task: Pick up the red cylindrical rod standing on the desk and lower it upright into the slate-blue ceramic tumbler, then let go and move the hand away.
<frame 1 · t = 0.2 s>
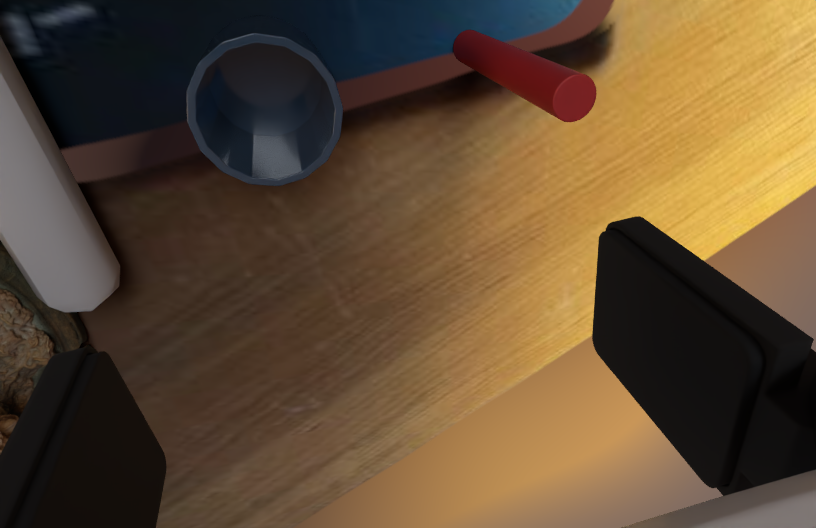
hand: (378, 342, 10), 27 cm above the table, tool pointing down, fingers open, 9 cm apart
tumbler: (266, 80, 33), on the table
tube: (3, 100, 30), on the table
red cylindrical rod: (468, 46, 34), on the table
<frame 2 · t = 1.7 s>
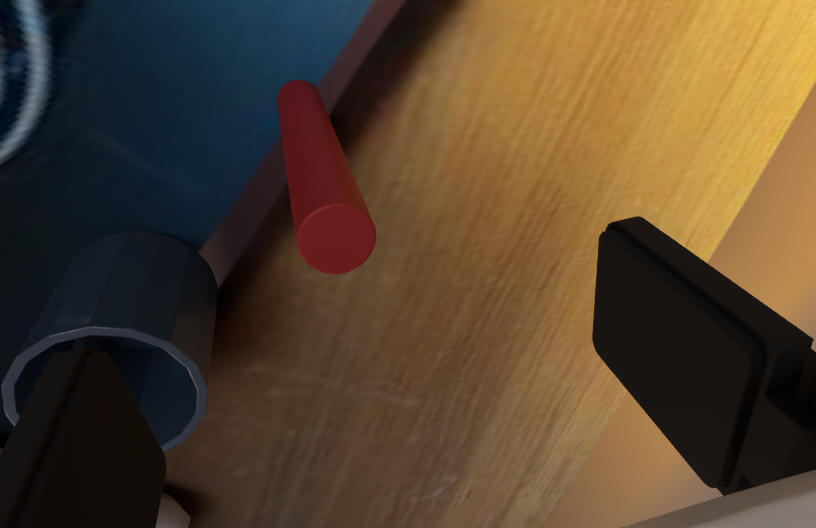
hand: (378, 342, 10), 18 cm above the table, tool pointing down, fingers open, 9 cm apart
tumbler: (144, 291, 28), on the table
red cylindrical rod: (298, 101, 25), on the table
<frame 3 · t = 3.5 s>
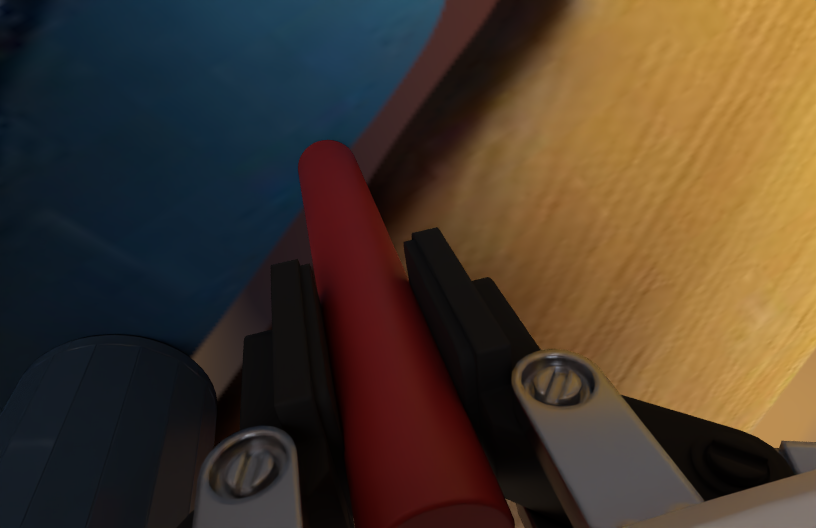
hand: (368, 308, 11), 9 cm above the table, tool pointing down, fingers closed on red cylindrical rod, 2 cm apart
tumbler: (121, 407, 21), on the table
red cylindrical rod: (327, 167, 18), on the table, touching gripper
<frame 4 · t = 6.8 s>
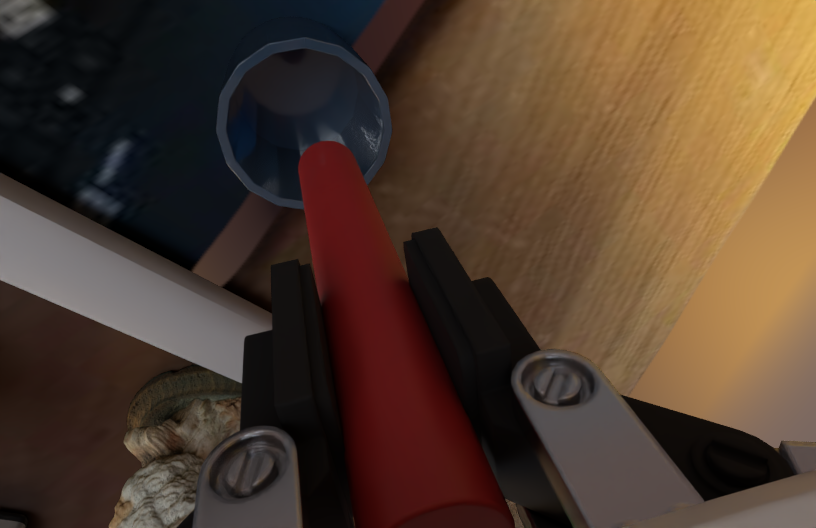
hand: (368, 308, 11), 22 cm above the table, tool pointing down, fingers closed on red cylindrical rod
tumbler: (296, 88, 29), on the table
tube: (129, 259, 32), on the table
red cylindrical rod: (327, 168, 18), point 13 cm above the table, touching gripper
owl figurine: (253, 427, 41), on the table
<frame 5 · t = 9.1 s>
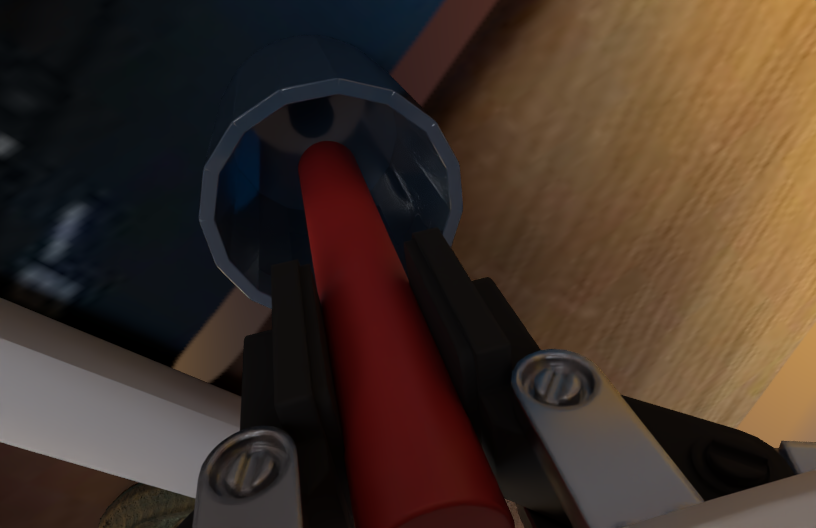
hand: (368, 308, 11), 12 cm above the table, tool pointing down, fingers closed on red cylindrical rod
tumbler: (314, 131, 22), on the table
tube: (92, 352, 25), on the table
red cylindrical rod: (327, 168, 18), point 4 cm above the table, touching gripper
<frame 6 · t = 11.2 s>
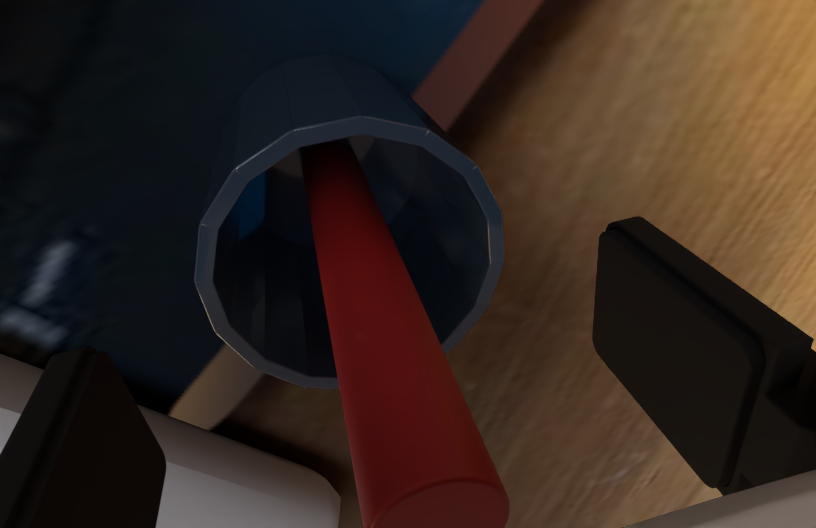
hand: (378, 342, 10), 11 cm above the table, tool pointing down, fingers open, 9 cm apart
tumbler: (326, 160, 19), on the table
tube: (80, 400, 22), on the table
red cylindrical rod: (331, 169, 19), point 1 cm above the table, touching tumbler
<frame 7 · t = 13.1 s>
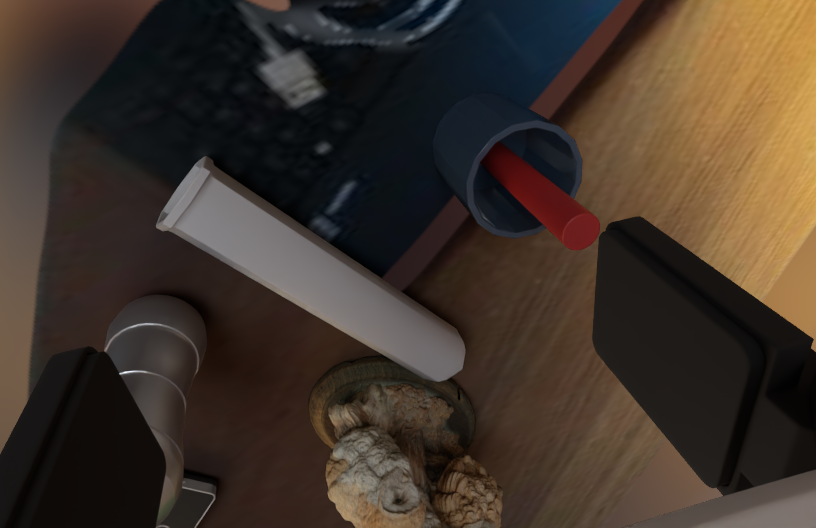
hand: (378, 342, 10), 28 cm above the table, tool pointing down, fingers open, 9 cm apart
tumbler: (480, 143, 39), on the table
external hard drive: (156, 505, 49), on the table
tube: (335, 271, 41), on the table
red cylindrical rod: (484, 148, 38), point 1 cm above the table, touching tumbler
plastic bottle: (164, 319, 40), on the table
owl figurine: (398, 411, 50), on the table
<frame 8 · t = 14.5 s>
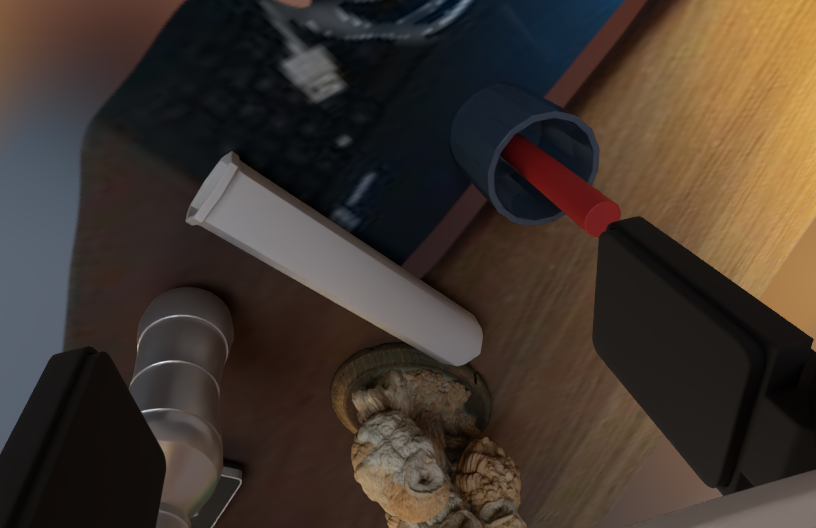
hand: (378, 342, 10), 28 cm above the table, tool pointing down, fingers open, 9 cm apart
tumbler: (496, 133, 39), on the table
external hard drive: (184, 490, 50), on the table
tube: (355, 261, 42), on the table
red cylindrical rod: (500, 137, 39), point 1 cm above the table, touching tumbler
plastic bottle: (191, 311, 41), on the table
owl figurine: (416, 396, 51), on the table
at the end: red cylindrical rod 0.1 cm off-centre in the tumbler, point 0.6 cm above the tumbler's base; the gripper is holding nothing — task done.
